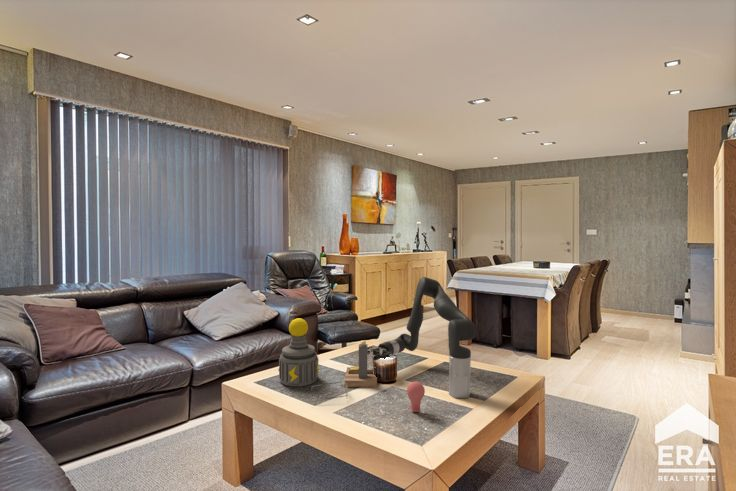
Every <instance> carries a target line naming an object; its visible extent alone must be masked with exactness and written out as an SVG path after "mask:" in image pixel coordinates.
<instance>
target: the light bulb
mask: <svg viewBox="0 0 736 491" xmlns="http://www.w3.org/2000/svg"><path fill="white" fill-rule="evenodd" d="M425 391H426V390H425V387H424V385H423V384H422V383H421V382H420V381H412V382H410V383H409V384H408V386H407V388H406V394H407V397H408V399H409V400H410V408H411V409H410V410H411V411H412V412H414V413H418V412H420V411H421V401H422V400H423V398H424V396H425V393H426V392H425Z"/></svg>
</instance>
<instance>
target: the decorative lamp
mask: <svg viewBox="0 0 736 491" xmlns="http://www.w3.org/2000/svg"><path fill="white" fill-rule="evenodd" d="M308 330H309V325H308V322H307V321H306V320H305V319H303V318H298V317H297V318H295V319H292V320H291V321H290V323H289V325H288V332H289V334H290V335H291V339H290V343H289V344H288V345H286V346H284V347H283V348H282V349H281V354H280V355H279V359H278V367H279V368H278V373H279V374H278V379H279V380H280V383H281V384H282V385H284V386H288V387H292V388H293V387H294V388H298V387H300V388H301V387H306V386H310V385H312V384H313V383H315V382H317V380H318V378H319V371H320V368H319V360H320V359H319V357H318V353H317V352H316V348H315V346H314V345H311V344H308V341H307V335H306V334H307V333H308Z"/></svg>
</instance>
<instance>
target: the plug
mask: <svg viewBox="0 0 736 491" xmlns="http://www.w3.org/2000/svg"><path fill="white" fill-rule="evenodd" d="M368 347H369V345H368V344H367V340H360V343H359V344H358V367H359V378H367V367H368V363H369V362H368V357H369V355H368Z"/></svg>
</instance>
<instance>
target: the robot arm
mask: <svg viewBox="0 0 736 491" xmlns="http://www.w3.org/2000/svg"><path fill="white" fill-rule="evenodd" d="M423 296H426V297H430V298H432V299H434V300H433V308H434V310H435V312H436V313H437V314H438V315H439V316H440V317H441V319H444V320H445V321H448V325H447V331H448V333H447V336H448V350H449V356H448V360H449V361H448V364H449V365H448V394H449V395H450V396H452V397H453V398H454V399H469V397H470V396H471V366H472V365H471V363H472V359H471V358H472V351H471V349H470V348H468V347H465V346H462V345H460V344H461V343H460V342H461V341H463V342H465V341H471V340H473V339H475V337H476V335H477V331H476V330H477V329H476V326H475V324H474V322H473V321H472V319H471V318H469V317H468V316H467V315H466V314H465V313H464V312H463V311H461V309H460V308H458V306H457V305H456V303H455V302H454V301H453V300H452V299H451V298H450V296H449V295H448V294H447V293H446V291H445V290H444V288H443V287H442V285H441V283H440V282H439V281H437V280H436V279H432V278H430V277H426V276H422V277H421V278H420V279H419V280H418V282H417V285H416V289H415V293H414V299H413V304H412V308H411V314H410V316H409V319H408V322H407V325H406V330H407V331H408V333H410V335H409V334H408V333H402V334H400V335H399V336H398V337H396V338H395V339H391V340H387V341H385V342H382V343H379V344H378V345H377V346H376V347H373V346H368V356H371V357H373V360H374V361H377V360H381V359H380V358H382V359H383V358H384V359H385V358H386V357H390V356H392V355H393V356H396V355H397V354H399V353H402V352H404V351H405V349H406V350H408V351H409V352H414V351H416V349H417V348H418V345H419V335H420V330H421V327H422V324H423V321H424V311H423V306H422V299H423ZM393 356H392V357H393ZM390 358H391V357H390ZM384 359H383V360H384Z"/></svg>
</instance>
